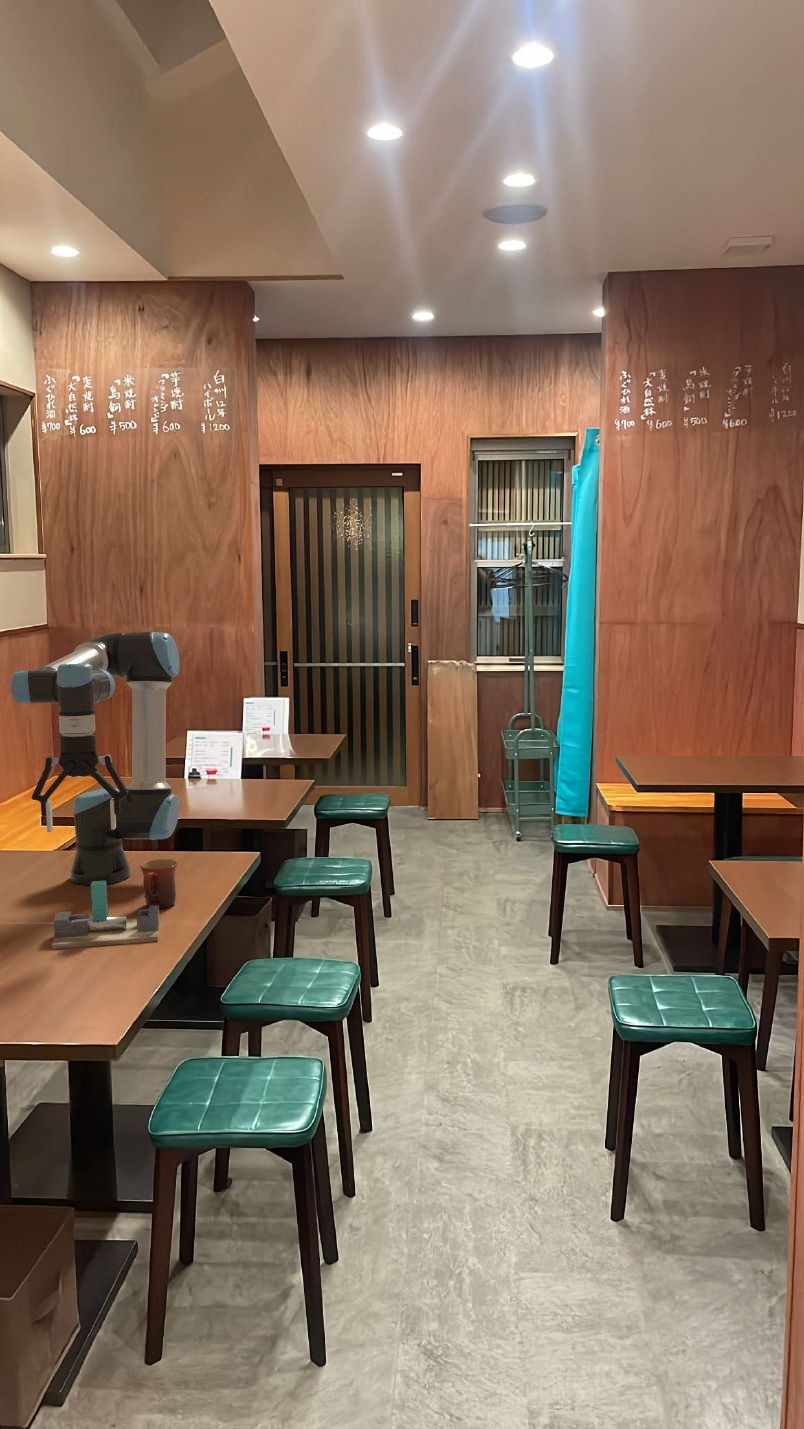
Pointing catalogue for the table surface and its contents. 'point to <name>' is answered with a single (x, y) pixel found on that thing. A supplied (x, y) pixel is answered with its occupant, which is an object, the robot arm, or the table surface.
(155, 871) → the mug
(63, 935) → the bracket
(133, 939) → the board
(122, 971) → the table surface
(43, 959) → the table surface
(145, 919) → the socket
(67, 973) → the table surface
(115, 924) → the teal and grey t-piece
